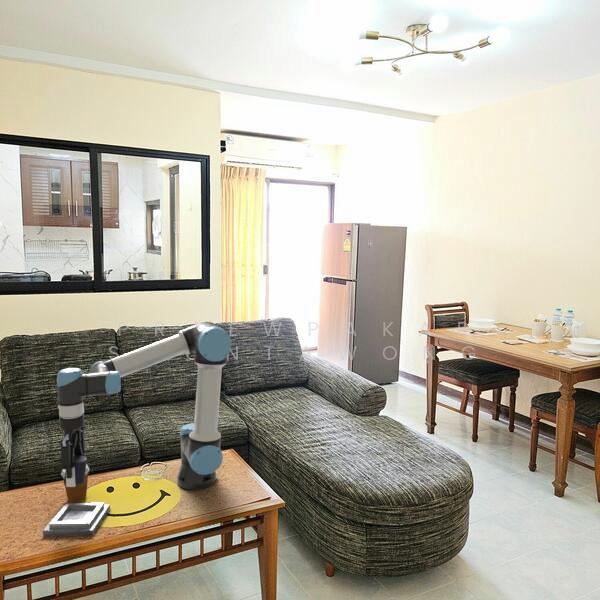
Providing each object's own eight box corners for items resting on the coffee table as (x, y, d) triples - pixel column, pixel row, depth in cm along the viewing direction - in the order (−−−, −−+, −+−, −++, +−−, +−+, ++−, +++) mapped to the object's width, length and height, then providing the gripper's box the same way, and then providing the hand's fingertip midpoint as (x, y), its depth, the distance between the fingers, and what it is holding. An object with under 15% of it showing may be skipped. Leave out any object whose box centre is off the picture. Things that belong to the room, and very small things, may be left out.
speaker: (57, 484, 170) (59, 454, 169) (67, 477, 175) (69, 448, 174) (78, 488, 169) (81, 458, 168) (88, 481, 174) (90, 451, 173)
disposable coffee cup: (87, 489, 196) (85, 460, 195) (93, 500, 189) (92, 469, 187) (60, 497, 191) (58, 466, 189) (66, 508, 183) (64, 476, 182)
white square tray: (110, 509, 182) (109, 500, 182) (92, 535, 166) (92, 525, 166) (64, 510, 182) (64, 500, 181) (43, 536, 166) (42, 526, 165)
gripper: (72, 405, 178) (75, 469, 181) (46, 425, 160) (50, 495, 163) (93, 405, 179) (96, 469, 181) (70, 425, 160) (74, 495, 163)
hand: (75, 481), depth 172 cm, fingers closed on speaker, 6 cm apart
